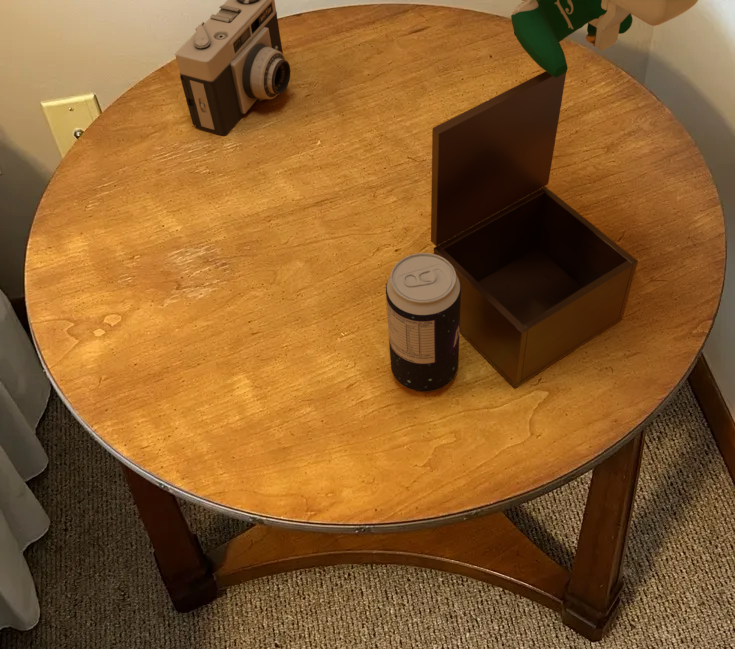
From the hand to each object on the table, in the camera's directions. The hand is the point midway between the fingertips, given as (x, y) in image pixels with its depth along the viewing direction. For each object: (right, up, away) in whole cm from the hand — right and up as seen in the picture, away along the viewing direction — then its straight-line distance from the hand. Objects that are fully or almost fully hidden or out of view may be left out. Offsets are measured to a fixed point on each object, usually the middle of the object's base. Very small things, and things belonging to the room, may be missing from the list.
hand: (566, 22), depth 66 cm
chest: (-1, -22, +11) cm, 25 cm away
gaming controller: (0, -1, +1) cm, 2 cm away
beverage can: (-10, -27, +8) cm, 30 cm away
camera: (-28, +2, +33) cm, 43 cm away
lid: (-5, -10, +3) cm, 11 cm away
